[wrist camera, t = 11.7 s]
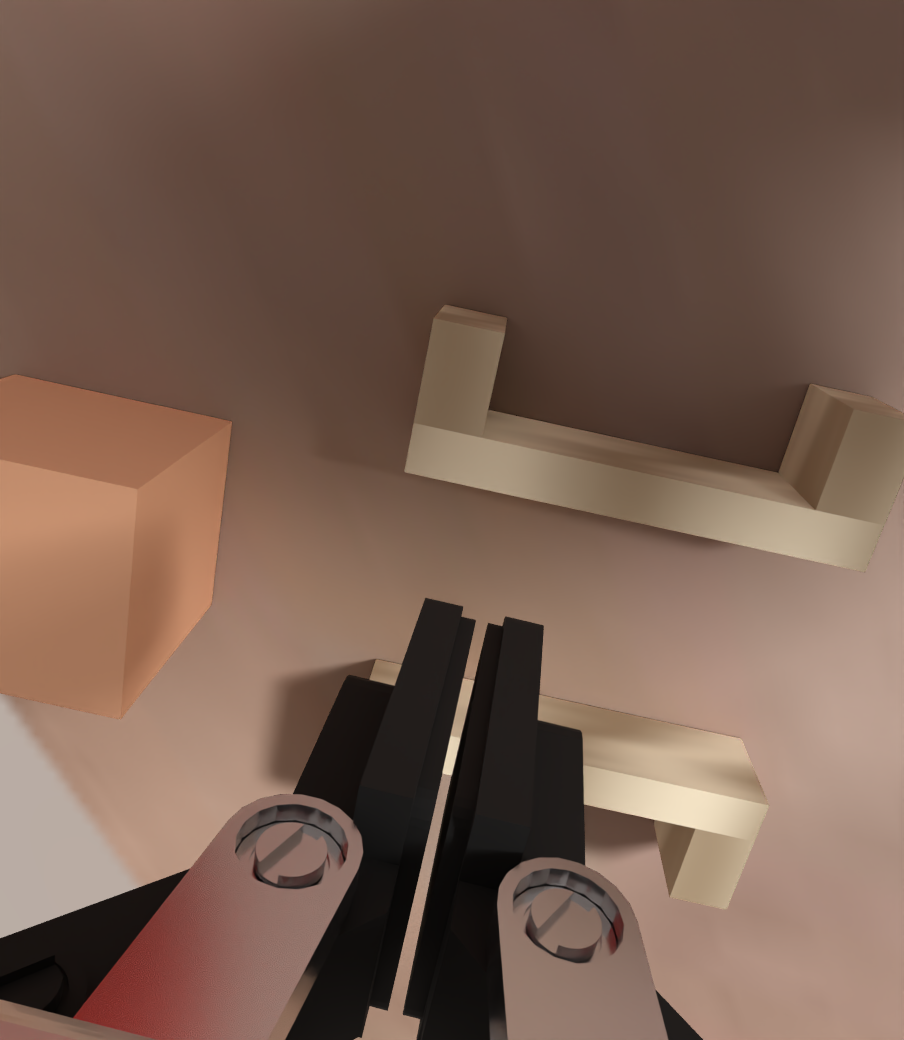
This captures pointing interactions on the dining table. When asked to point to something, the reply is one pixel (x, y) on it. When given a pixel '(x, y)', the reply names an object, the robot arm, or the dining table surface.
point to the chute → (674, 506)
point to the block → (102, 540)
